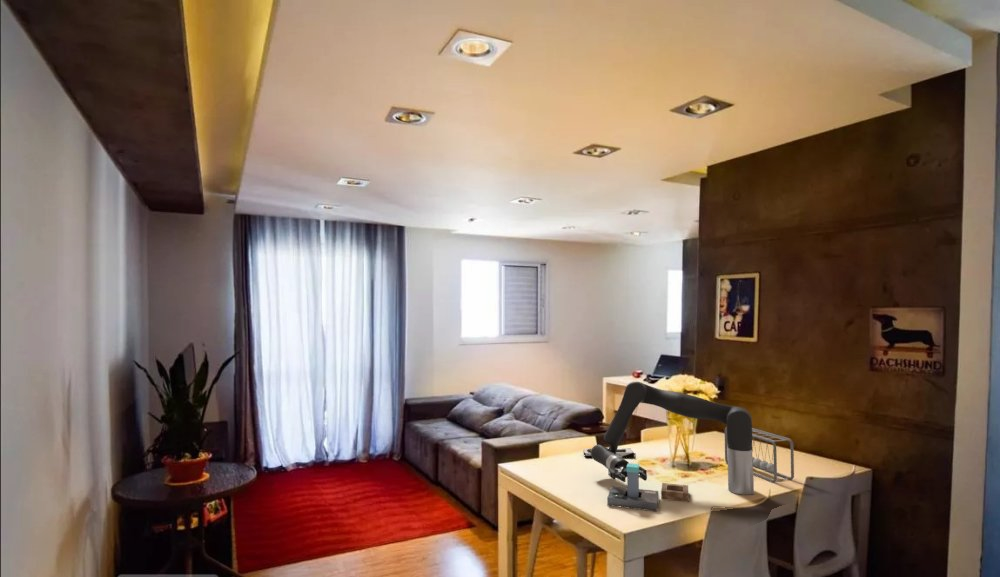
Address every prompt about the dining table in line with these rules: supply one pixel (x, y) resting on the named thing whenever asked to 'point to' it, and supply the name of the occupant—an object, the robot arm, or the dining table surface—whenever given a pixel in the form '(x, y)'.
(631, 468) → the plug
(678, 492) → the holster
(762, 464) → the newton's cradle
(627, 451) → the graphics card
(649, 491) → the port panel
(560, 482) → the dining table surface
